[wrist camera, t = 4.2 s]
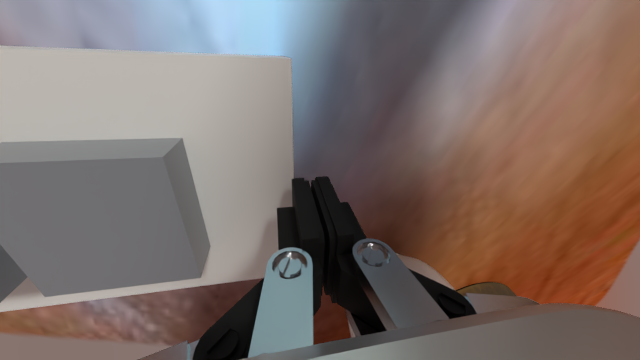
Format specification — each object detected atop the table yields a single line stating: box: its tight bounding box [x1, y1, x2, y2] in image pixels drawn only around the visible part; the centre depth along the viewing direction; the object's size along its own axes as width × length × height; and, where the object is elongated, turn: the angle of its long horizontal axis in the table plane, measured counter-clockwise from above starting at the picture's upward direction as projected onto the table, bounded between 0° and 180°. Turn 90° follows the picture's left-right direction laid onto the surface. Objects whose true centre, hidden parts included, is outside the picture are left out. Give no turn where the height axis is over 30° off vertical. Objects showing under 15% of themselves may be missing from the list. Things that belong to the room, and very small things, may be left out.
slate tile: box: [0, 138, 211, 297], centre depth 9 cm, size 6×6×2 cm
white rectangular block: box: [0, 46, 294, 312], centre depth 13 cm, size 19×12×6 cm, turn 88°
